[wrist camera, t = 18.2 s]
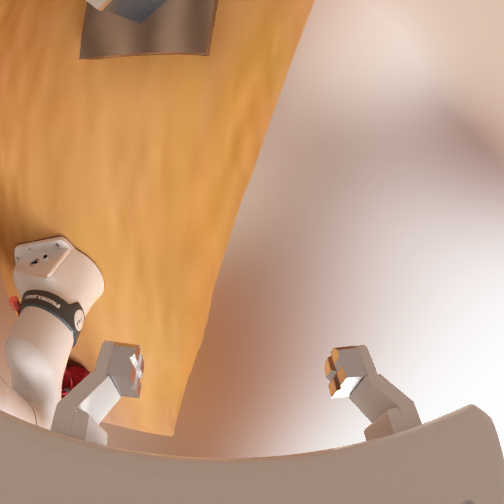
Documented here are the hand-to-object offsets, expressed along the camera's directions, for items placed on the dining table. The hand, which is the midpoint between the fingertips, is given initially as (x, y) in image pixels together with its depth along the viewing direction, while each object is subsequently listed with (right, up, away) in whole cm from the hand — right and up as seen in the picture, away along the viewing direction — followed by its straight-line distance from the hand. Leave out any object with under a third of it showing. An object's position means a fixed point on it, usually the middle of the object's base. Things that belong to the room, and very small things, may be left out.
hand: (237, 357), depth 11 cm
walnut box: (-12, +36, +14) cm, 41 cm away
